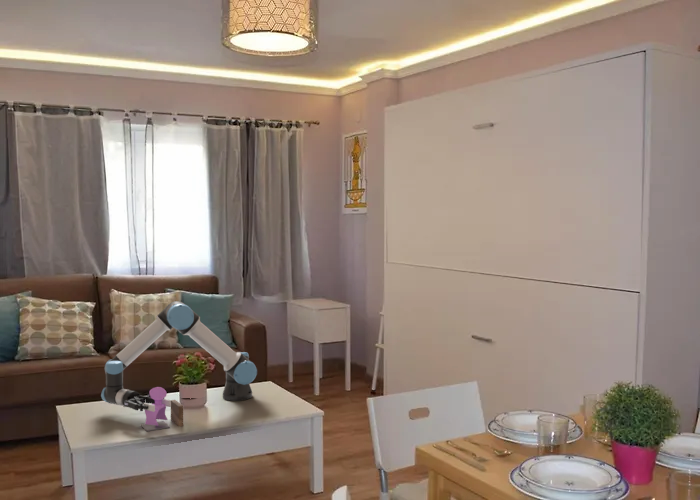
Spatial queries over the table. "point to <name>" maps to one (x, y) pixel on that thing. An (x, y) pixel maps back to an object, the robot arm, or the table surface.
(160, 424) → the coaster
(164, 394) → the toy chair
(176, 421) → the brown wooden slab
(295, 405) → the table surface
